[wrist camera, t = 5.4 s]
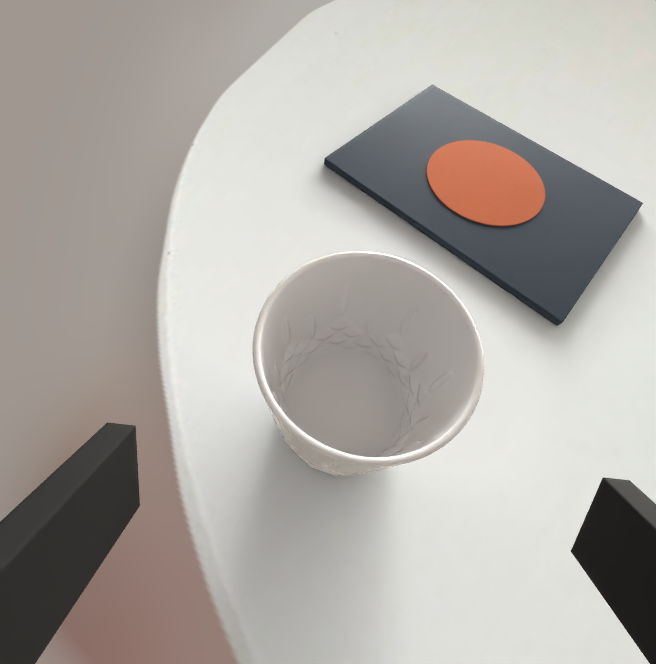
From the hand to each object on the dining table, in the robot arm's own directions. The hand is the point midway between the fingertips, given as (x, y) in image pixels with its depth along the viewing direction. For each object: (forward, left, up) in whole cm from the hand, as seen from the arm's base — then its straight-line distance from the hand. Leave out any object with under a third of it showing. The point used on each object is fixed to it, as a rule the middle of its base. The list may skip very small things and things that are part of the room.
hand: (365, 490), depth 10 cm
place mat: (-7, +27, -10) cm, 29 cm away
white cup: (-3, +4, -10) cm, 11 cm away
